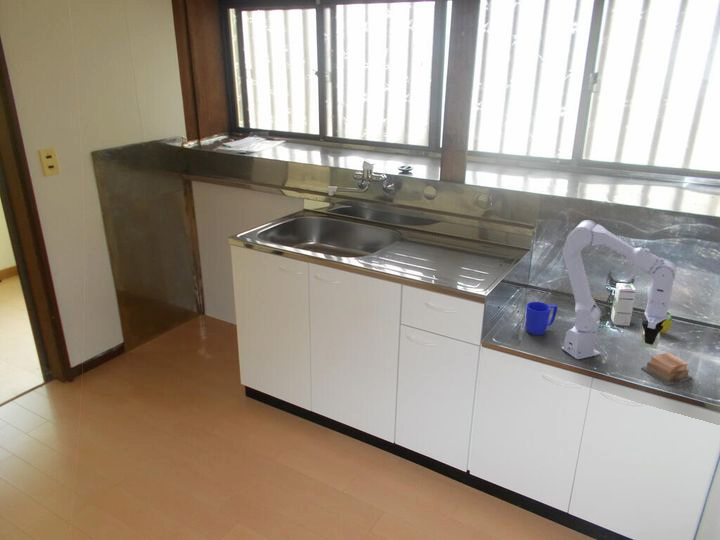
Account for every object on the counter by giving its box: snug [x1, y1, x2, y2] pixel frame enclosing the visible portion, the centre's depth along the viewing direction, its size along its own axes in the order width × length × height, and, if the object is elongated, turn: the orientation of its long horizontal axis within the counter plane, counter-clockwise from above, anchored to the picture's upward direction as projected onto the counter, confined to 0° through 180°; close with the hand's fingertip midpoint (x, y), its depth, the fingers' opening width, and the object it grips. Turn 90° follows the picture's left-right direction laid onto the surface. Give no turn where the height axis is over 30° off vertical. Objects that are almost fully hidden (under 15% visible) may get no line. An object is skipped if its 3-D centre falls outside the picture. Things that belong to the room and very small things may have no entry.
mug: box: [525, 301, 558, 336], centre depth 197 cm, size 8×12×10 cm
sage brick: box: [639, 330, 661, 350], centre depth 172 cm, size 4×4×4 cm
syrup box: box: [610, 282, 637, 327], centre depth 202 cm, size 6×6×14 cm
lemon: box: [660, 311, 673, 334], centre depth 195 cm, size 7×6×10 cm
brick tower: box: [640, 352, 693, 386], centre depth 171 cm, size 10×10×5 cm
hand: (650, 340), depth 172 cm, fingers closed on sage brick, 4 cm apart
